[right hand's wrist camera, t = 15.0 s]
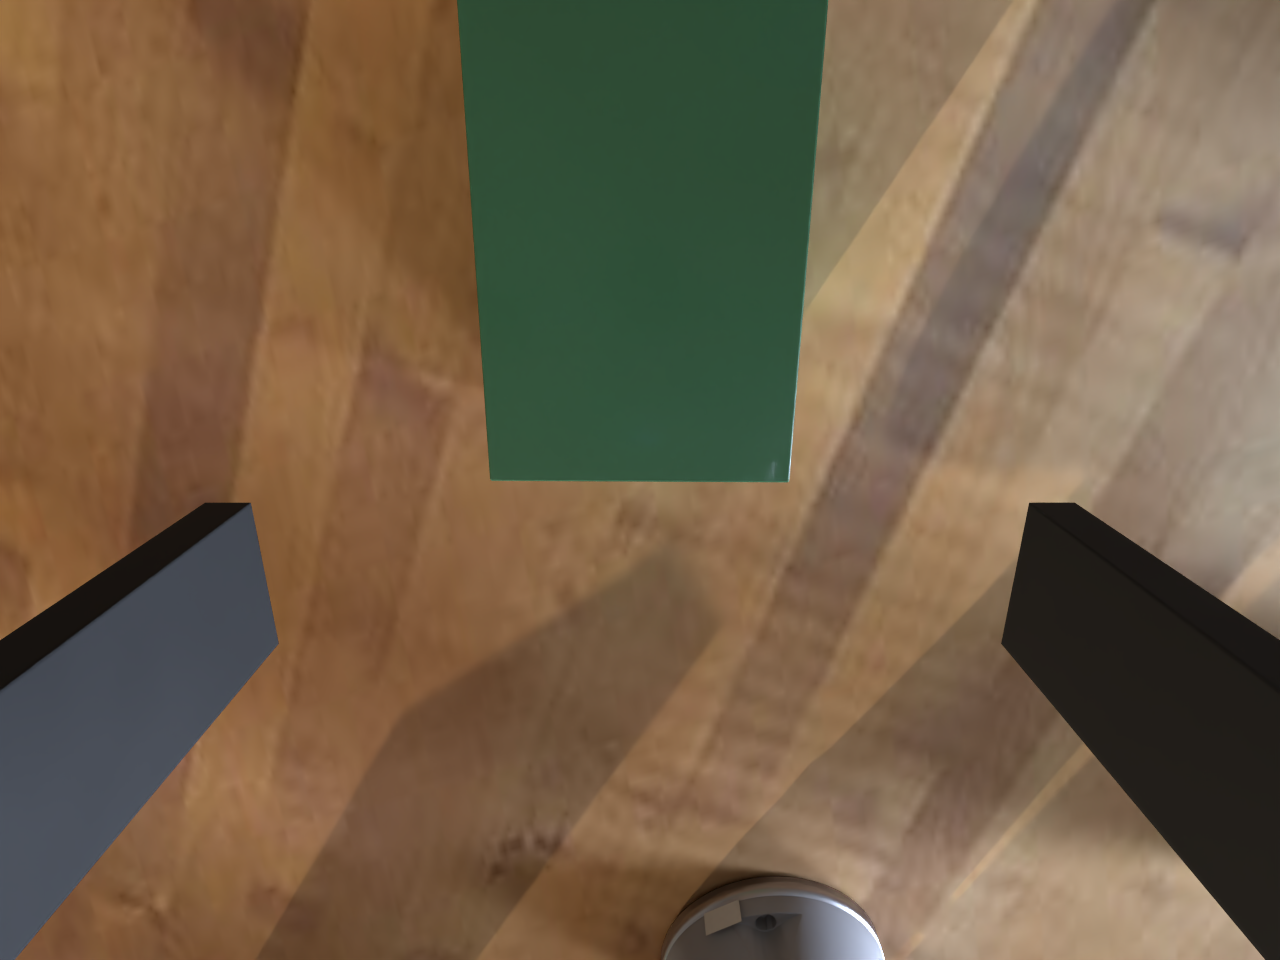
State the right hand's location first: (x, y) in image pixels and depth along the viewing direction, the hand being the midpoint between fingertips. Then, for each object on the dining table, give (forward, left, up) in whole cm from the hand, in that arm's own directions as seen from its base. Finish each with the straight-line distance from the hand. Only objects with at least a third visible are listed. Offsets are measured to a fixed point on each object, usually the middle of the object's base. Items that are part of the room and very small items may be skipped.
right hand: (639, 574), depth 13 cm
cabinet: (+3, -4, -26) cm, 26 cm away
